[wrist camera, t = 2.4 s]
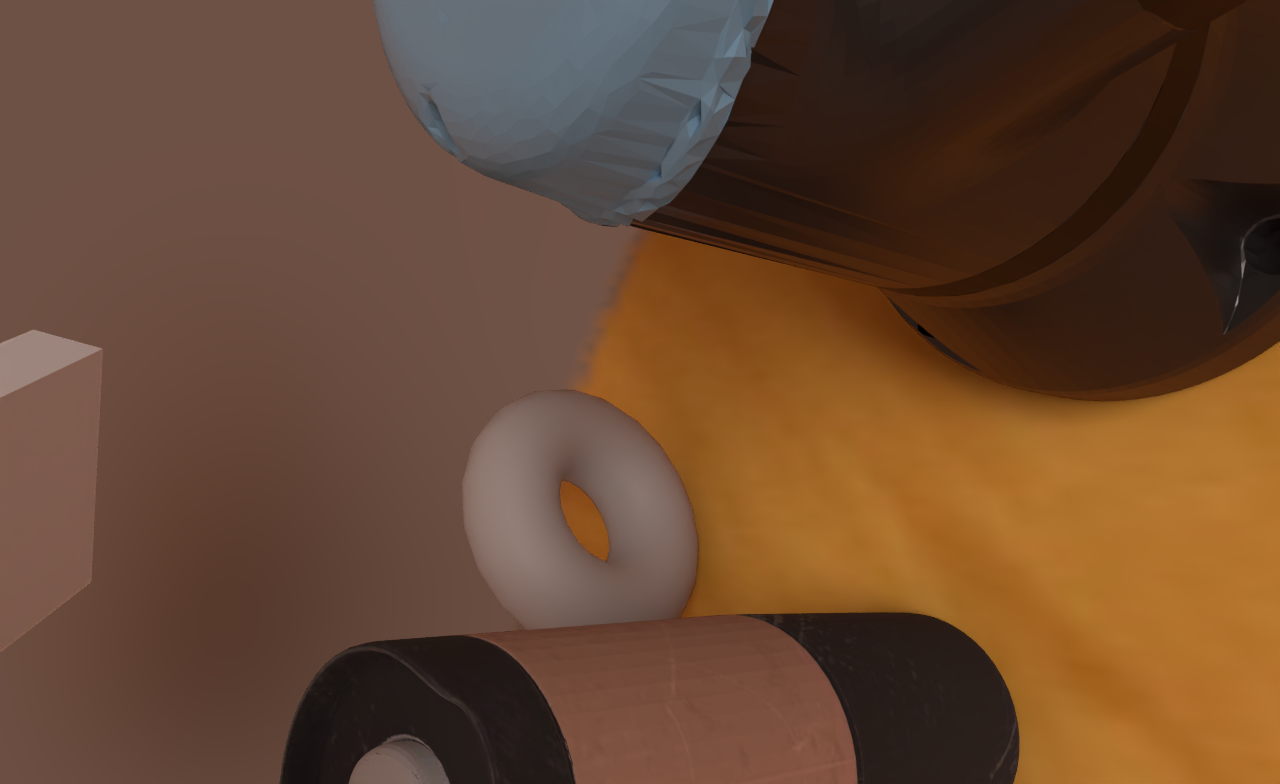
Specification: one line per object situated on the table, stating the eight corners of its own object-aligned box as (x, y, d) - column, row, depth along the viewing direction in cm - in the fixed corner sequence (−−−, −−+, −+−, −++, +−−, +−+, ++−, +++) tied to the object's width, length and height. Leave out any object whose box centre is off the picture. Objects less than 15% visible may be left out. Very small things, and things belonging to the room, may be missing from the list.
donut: (749, 634, 43) (534, 651, 36) (684, 661, 45) (470, 683, 38) (679, 386, 46) (473, 357, 39) (622, 422, 48) (417, 401, 41)
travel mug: (801, 793, 40) (250, 923, 26) (843, 575, 40) (305, 591, 26) (1002, 898, 35) (439, 1132, 21) (1053, 646, 34) (513, 715, 20)
